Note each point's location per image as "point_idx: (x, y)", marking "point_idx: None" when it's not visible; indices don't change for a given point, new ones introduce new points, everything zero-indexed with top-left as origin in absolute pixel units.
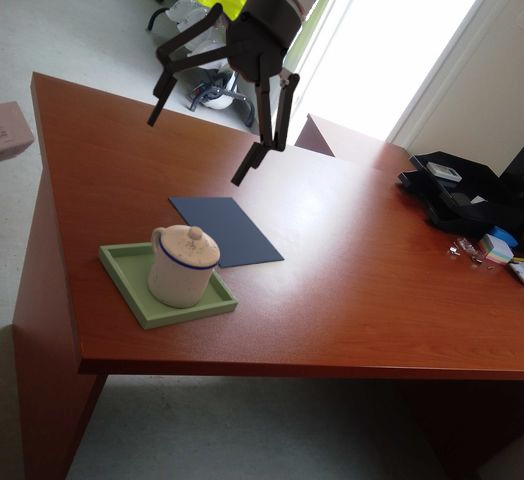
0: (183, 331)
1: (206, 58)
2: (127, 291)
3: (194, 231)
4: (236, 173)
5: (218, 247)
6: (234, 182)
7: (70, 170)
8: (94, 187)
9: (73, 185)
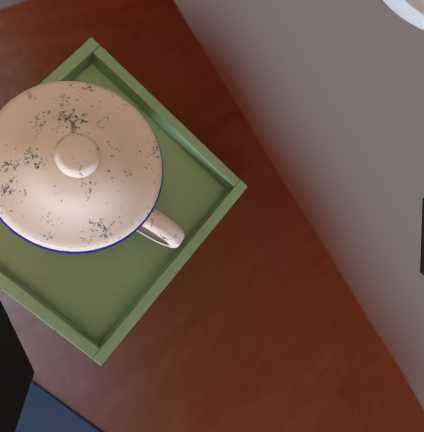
0: (16, 82)
1: None
2: (155, 98)
3: (81, 140)
4: (12, 390)
5: (26, 429)
6: (2, 314)
7: (383, 396)
8: (333, 386)
9: (358, 355)
